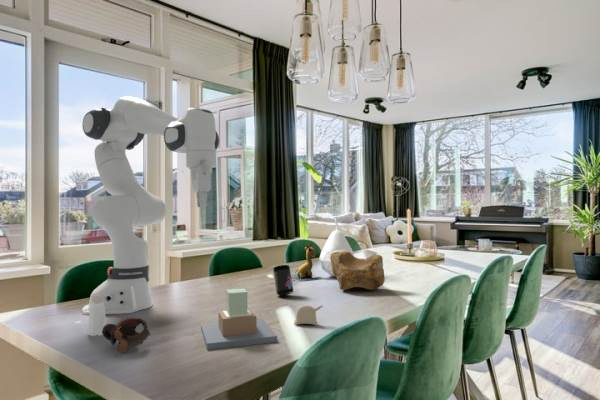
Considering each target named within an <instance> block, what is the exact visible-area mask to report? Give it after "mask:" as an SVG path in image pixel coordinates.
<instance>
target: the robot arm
mask: <svg viewBox="0 0 600 400" xmlns="http://www.w3.org/2000/svg"><path fill="white" fill-rule="evenodd" d="M216 129H217V127H216V119H215V116H214V113H213V112H212V111H211V110H209V109H204V108H199V107H190V108H188V109H187V111H186V113H184V115H183V116H182V117H180V118H177V117H175V116H173V115H172V114H170V113H168V112H166V111H164V110H163V109H161V108H159V107H157V106H155V105H153V104H152V103H150V102H148V101H145V100H143V99H141V98H138V97H133V96H123V97H120V98H119V99H118V100H117V101H116V102H115V103H114V106H113V108H112V109H107V107H104V106H103V107H101V108H98V109H97V108H96V109H92V110H89V111H88V112H87V113H85V115H84V117H83V119H82V131H83V133H84V134H85V136H87V138H90V139H93V140H96V141H97V140H99V141H102V142H100V143H98V144H97V145H96V147H95V149H94V152H93V153H94V161H95V166H96V169H97V172H98V175H99V178H100V180H101V183H102V186H103V188H104V190H105V191H106V192H107V193H108V194H110V195H106V196H101V197H99V198H97V199H96V200H94V202H93V204H92V207H91V217H92V220H93V221H94V223H95V224H96V225H97V226H99V227H100V228H102V230H104V231H105V233H106V234H107V235H108V237H109V239H110V241H111V244H112V252H113V266H109V267H108V268H107V270H106V271H107V279H106V280H105V281H103V282H102V283H101V284H99V285H98V286H97V287H96V288H95V289H93V291H92V292H91V294H90V297H89V302H88V304H86V305H84V306H83V307H82V309H81V313H82V314H83V315H86V316H89V311H90V304H92V297H91V296H92V295H95V294H102V295H103V296H102V303H104V307H105V315H113V314H114V315H115V314H120V315H121V314H133V313H135V312H138V311H142V310H146V309H148V308H149V309H150V308H151V307H152V306H153V305H154V303H153V300H152V295H151V291H150V283H149V282H150V278H151V277H150V273H151V272H150V271H151V270H150V265H149V263H148V261H149V259H148V258H149V256H148V255H149V253H148V251H149V250H148V248H149V247H148V244H147V242H146V241H145V240H144V239H143V238H141V237H138V235H136V234H135V232H134V227H147V226H153V225H156V224H159V223H162V221H163V220H164V218H165V217H166V215H167V214H166V213H167V208H166V207H167V206H166V204H165V202H164V200H163V199H162V198H160V197H159V196H157V195H155V194H154V193H153V194H152V193H151V191H149V190H147V189H146V188H145V187H144V186H143V185H142V184H141V183H140V182H139V180H138V178H137V176H135V173H134V171H133V169H132V167H131V164H130V162H129V159H128V157H127V154H126V150H127V151H130V150H133V149H134V148H135V147H136V146H138V145H139V144H140V143H141V142H142V141H143V139H144V138H145V135H151V136H162V137H163V141H164V145H165V146H166V147H167V148H166V149H168V150H169V151H170V152H171V151H172V152H173V153H174V152H175V153H180V154H181V153H182V154H185V156H186V157H185V160H186V161H185V162H186V163H185V167H186V168H188V169H189V170H190V174H191V175H190V176H191V183H192V184H191V185H192V190H193V193H196V201H197V202H196V203H197V204H196V205H197V208H206V207H207V201H208V192H210V191H211V189H212V181H211V180H212V178H211V177H212V176H211V175H212V173H213V168H214V169H215V168H217V150H218V148H219V146H220V136H219V133H218V132H217V130H216Z"/></svg>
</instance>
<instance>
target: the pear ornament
mask: <svg viewBox="0 0 600 400" xmlns="http://www.w3.org/2000/svg"><path fill="white" fill-rule="evenodd" d="M334 222H335V230H333V231H331V233H330V234H329V236H328V238H327V240H326V241H325V244H324V246H323V248H322V250H321V251H320V255H319V258H318V259H319V263H320V266H321V269H322V271H324V272H325V273H326V274H328V275H330V276H331V277H336V276H335V275H334V274H333V270H332V266H331V259H330V257H331V254H332V253H334V252H344V251H347V252H350V253H351V254H352V255H353V256H354V257H355V255H354V252H353V251H354V250H353V249H352V247H351V245H350V243H349V242H348V240H347V238H346V236H345V234H344V233H343V232H342V231H341V230H343V231H345V232H347V231H348V228H347V226H343V225H340V224H338V221H337V219H336V218H335V219H334ZM339 229H341V230H339ZM336 278H337V277H336Z"/></svg>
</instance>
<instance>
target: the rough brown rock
mask: <svg viewBox="0 0 600 400" xmlns="http://www.w3.org/2000/svg"><path fill="white" fill-rule="evenodd" d="M330 259H331V266H332V270H333V274H334V275H335V276H336V280H337V282H338V286H339V289H340V290H341V291H342V290H343V291H344V290H350V289H352V288H364V289H366V290H370V291H372V290H373V291H374V290H376V289H377V290H378V289H379V288H381V287H382V286H384V283H385V269H384V263H383V262H384V261H383V260H384V258H383V256H382V255H381V254H373V255H371V256H369V257H366V259H365V258H358V257H355V255H354V256H353V255H352V254H351V253H350V252H347V251H344V252H334V253H332V254H331V257H330Z"/></svg>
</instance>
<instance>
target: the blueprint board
mask: <svg viewBox="0 0 600 400" xmlns="http://www.w3.org/2000/svg"><path fill="white" fill-rule="evenodd" d="M247 313H248V314H243V315H232V316H229V315H228V313H227V311H226V310H223V309H222V310H218V321H217V322H210V323H208V322H207V323H201V324H200V330H201V333H202V337H203V341H204V343H205V347H206V350H214V349H215V350H216V349H225V348H233V347H242V346H250V345H252V346H253V345H261V344H270V343H277V342H278V335H277V334H276V333H275V332H274V331H273V330H272V328H271V327H270V326H269V325H268V324H267V322H266V321H265V320H264V318H262V317H261V318H257V315H256V313H255V312H254V311H253V310H252V308H250V307H247Z"/></svg>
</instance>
